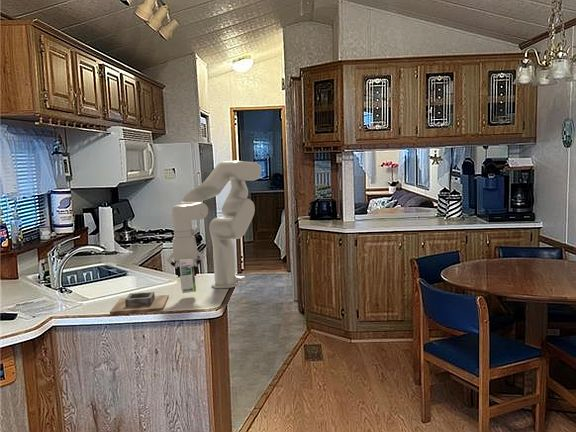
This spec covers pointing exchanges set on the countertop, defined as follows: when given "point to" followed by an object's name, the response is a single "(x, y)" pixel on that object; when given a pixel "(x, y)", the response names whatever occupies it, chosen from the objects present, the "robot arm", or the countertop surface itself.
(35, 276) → the countertop surface
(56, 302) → the countertop surface
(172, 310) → the countertop surface
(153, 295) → the socket stand
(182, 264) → the syrup box
